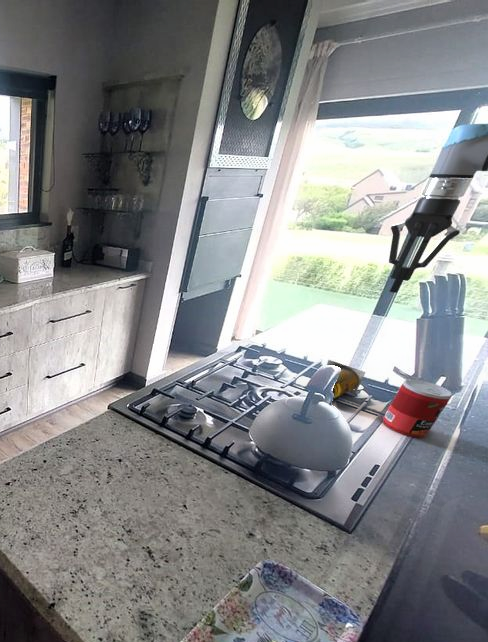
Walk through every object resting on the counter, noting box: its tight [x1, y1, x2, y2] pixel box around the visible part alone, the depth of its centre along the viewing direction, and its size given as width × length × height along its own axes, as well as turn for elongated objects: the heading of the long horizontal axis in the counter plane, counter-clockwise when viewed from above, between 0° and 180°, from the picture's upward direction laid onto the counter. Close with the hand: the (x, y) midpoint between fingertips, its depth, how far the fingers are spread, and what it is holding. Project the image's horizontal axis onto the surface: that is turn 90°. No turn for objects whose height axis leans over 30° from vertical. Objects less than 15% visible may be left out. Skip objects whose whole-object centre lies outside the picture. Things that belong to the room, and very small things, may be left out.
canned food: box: [382, 378, 453, 438], centre depth 92 cm, size 8×8×11 cm
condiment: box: [326, 359, 366, 399], centre depth 107 cm, size 7×8×12 cm
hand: (393, 291), depth 110 cm, fingers closed
